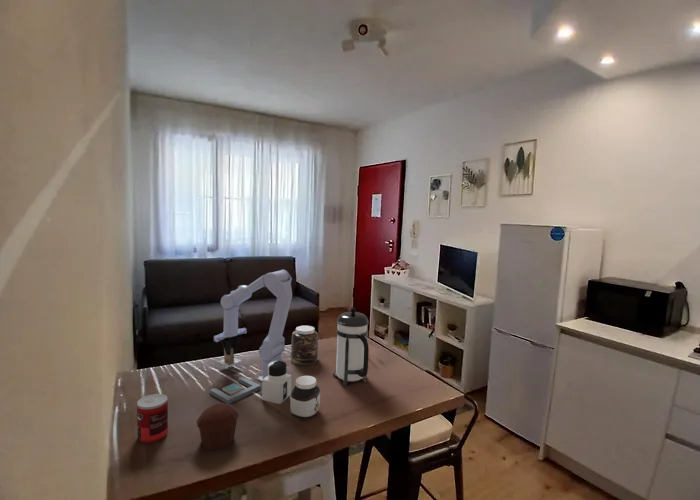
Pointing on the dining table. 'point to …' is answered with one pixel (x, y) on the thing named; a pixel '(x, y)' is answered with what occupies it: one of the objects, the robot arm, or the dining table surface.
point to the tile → (232, 388)
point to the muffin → (217, 425)
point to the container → (276, 383)
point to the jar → (304, 345)
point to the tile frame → (229, 399)
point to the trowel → (230, 359)
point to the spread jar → (305, 398)
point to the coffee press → (352, 347)
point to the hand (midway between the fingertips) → (230, 353)
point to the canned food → (152, 418)
